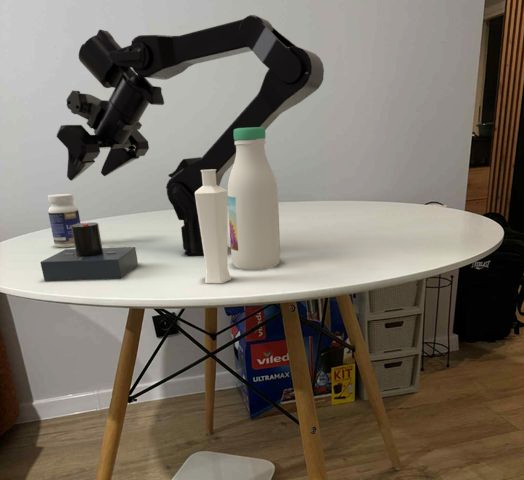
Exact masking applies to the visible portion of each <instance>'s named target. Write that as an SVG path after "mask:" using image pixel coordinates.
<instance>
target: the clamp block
mask: <svg viewBox="0 0 524 480" xmlns="http://www.w3.org/2000/svg"><path fill="white" fill-rule="evenodd" d="M102 249H103V253H102V254H99V255H94V256H77V254H76V249H75V248H66V249H63V250H61V251H59V252H57V253H55V254H53V255H51V256H50V257H47V258H45V259H43V260H41V261H40V267H41V271H42V275H43V281H44V282H61V281H62V282H63V281H64V282H65V281H93V280H94V281H96V280H97V281H98V280H99V281H100V280H121V279H123V278H124V277H125V276H126V275H127V274H129V273H130V272H131V271H132V270H134V269H135V268H136V267H137V266H138V265H139V261H138V255H137V249H136V246H122V247H121V246H119V247H102Z"/></svg>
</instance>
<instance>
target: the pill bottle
mask: <svg viewBox="0 0 524 480" xmlns="http://www.w3.org/2000/svg"><path fill="white" fill-rule="evenodd" d="M47 199H48V202H49V203H50V206H49V208H48V210H47V212H48V213H47V214H48V218H49V223H50V229H51V234H52V239H53V243H54V246H55V247H57V248H72V247H75V244H74V239H73V234H72V229H71V226H72V225H74V224H79V223H81V217H80V212H79V208H78V206H76V205H75V204H74V194H73V193H72V194H71V193H60V194H59V193H58V194H48V195H47Z"/></svg>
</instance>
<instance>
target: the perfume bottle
mask: <svg viewBox="0 0 524 480" xmlns="http://www.w3.org/2000/svg"><path fill="white" fill-rule="evenodd" d="M215 171H216V170H215V169H209V170H201V172H202V181H203V186H202V187H200V188H199V189H198V190H197V191H195V199H196V206H197V212H198V219H199V225H200V232H201V238H202V245H203V251H204V254H203V257H204V263H205V269H206V270H205V279H204V281H205V282H204V283H205V284H224V283H226V282H228V281H230V280H232V276H231V275H230V272H229V267H228V265H229V263H228V262H229V261H228V259H229V258H228V256H229V255H228V254H229V253H228V252H229V250H228V248H229V245H228V241H229V239H228V238H229V237H228V234H229V233H228V230H229V229H228V228H229V227H228V226H229V225H228V224H229V212H228V189H225V188H223V187H221V186H220V185H219V186H218V185H216V172H215Z"/></svg>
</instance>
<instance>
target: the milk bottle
mask: <svg viewBox="0 0 524 480" xmlns="http://www.w3.org/2000/svg"><path fill="white" fill-rule="evenodd" d="M249 139H255V140H249ZM234 140H237V141H235V145H236V157H235V161H234V164H233V165H232V167H231V171H230V174H229V177H228V183H227V191H228V224H229V225H228V226H229V227H228V228H229V239H230V241H229V242H230V252H231V253H230V256H231V262H232V265H233V266H234V267H236V268H239V269H245V270H259V269H267V268H272V267H276V266H277V265H279V264H280V262H281V237H280V211H279V194H278V185H277V180H276V179H277V178H276V177H275V173H274V171H273V170H272V168H271V165H270V163H269V161H268V157H267V153H266V150H265V144H266V143H267V142H266V130H265V128H263V127H251V128H237V129H234Z"/></svg>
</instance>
